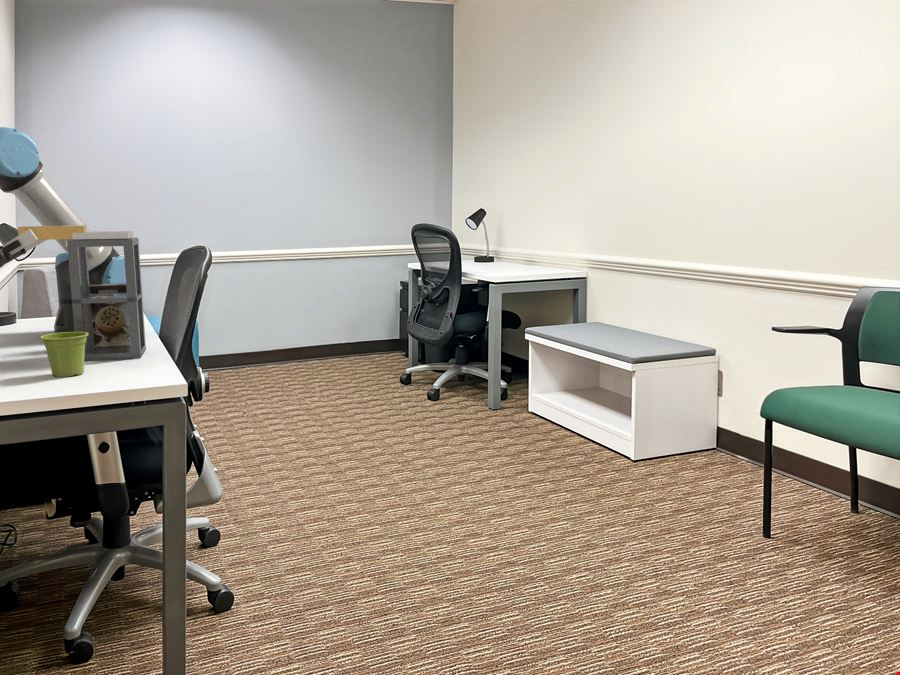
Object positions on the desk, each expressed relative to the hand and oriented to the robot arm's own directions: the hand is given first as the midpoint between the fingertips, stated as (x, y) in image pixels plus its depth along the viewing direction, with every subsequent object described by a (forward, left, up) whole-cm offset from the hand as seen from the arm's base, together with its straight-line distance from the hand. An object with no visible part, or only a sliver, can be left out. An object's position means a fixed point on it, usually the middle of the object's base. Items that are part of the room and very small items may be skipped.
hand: (41, 233), depth 193 cm
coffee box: (-14, +11, -30) cm, 35 cm away
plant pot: (+22, +7, -30) cm, 38 cm away
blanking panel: (0, +7, -1) cm, 8 cm away
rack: (0, +13, -30) cm, 33 cm away
